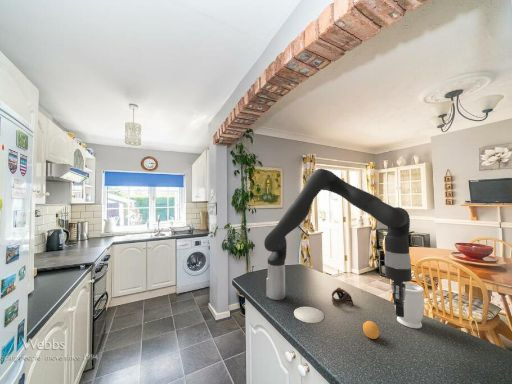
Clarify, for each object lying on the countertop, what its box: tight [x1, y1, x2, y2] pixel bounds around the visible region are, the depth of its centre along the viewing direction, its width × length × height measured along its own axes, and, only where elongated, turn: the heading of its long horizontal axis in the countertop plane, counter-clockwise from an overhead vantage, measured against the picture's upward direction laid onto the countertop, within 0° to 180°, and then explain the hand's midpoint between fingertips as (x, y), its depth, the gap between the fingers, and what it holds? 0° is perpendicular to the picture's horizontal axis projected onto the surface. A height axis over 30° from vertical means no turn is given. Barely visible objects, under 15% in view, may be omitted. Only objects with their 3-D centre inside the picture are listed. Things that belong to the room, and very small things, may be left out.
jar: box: [394, 281, 425, 329], centre depth 85 cm, size 11×10×15 cm
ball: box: [362, 320, 381, 340], centre depth 76 cm, size 6×6×6 cm
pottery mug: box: [331, 287, 354, 307], centre depth 101 cm, size 12×10×8 cm
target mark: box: [293, 306, 325, 324], centre depth 91 cm, size 13×13×1 cm
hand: (400, 315), depth 70 cm, fingers closed
